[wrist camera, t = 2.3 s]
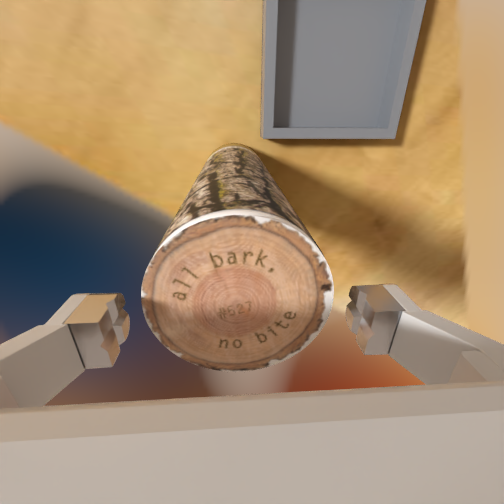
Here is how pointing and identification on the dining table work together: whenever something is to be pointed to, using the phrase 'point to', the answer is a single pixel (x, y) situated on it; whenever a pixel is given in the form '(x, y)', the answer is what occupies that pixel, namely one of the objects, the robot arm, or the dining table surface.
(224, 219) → the paper tube
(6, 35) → the dining table surface
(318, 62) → the tray
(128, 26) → the dining table surface
